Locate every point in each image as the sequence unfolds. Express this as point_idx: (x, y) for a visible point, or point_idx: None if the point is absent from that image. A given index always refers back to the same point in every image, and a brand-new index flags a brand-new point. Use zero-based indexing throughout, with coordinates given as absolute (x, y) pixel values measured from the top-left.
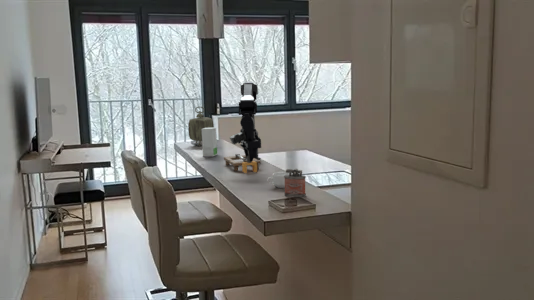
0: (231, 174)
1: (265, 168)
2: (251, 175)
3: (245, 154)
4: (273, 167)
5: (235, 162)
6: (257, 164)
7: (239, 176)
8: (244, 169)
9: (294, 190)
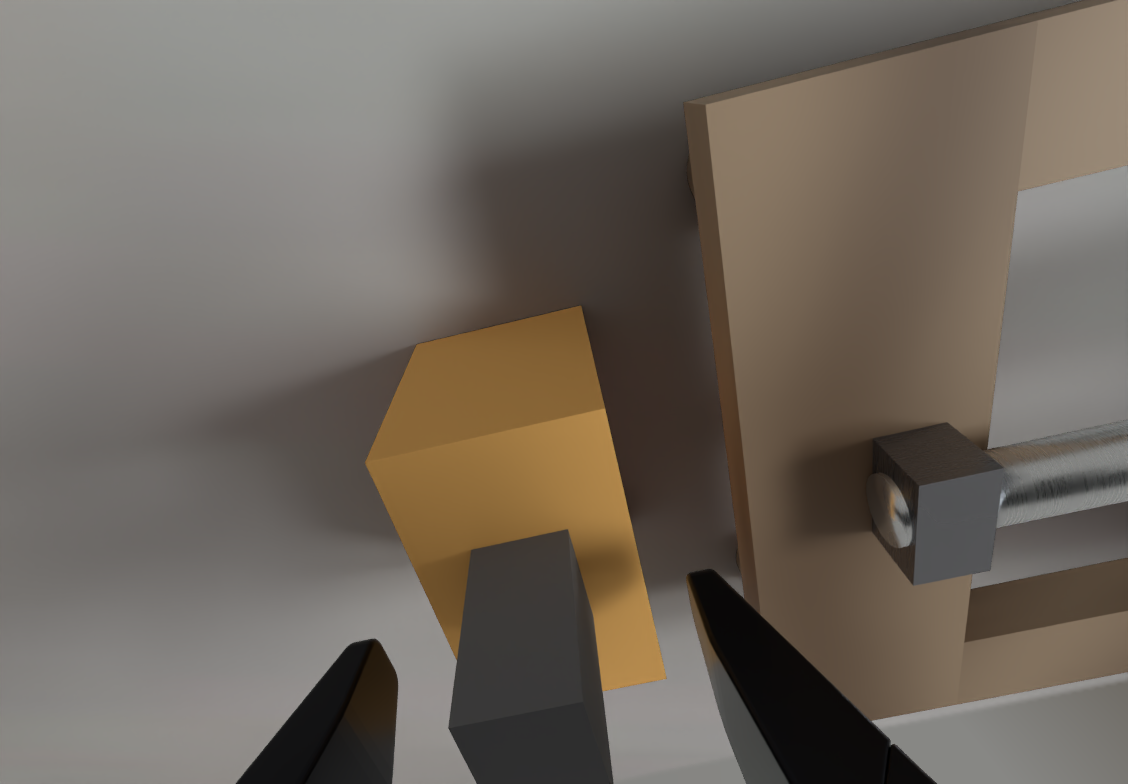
0: (290, 12)
1: None
2: (177, 461)
3: (760, 697)
4: None
5: (871, 181)
6: None
7: (40, 225)
8: (403, 380)
9: None
